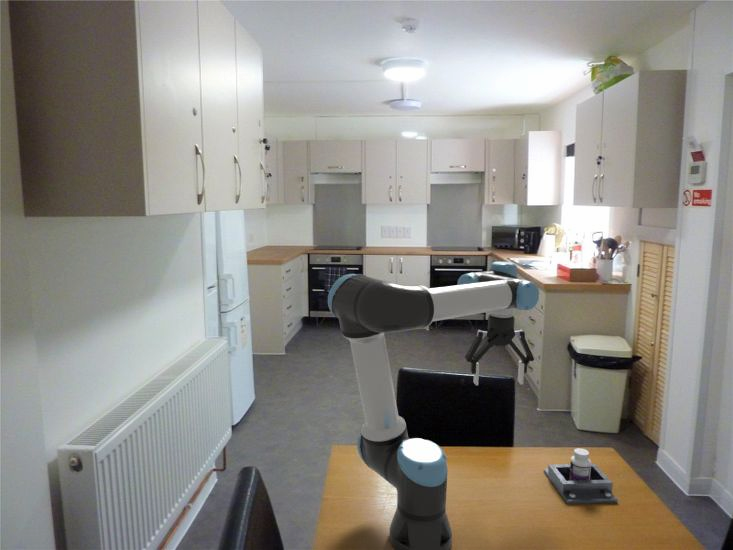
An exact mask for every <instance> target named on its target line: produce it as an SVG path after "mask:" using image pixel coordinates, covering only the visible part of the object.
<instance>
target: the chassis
mask: <svg viewBox="0 0 733 550" xmlns="http://www.w3.org/2000/svg"><path fill="white" fill-rule="evenodd" d="M543 473H544V474H545V476H546V477H547V478H548V479H549V481H550V482H551V484H552V486H554V489H556V490H557V493H559V495H560V497H562V499H563V500H564V501H565V502H566V504H567V505H573V504H574V505H576V504H577V505H578V504H580V505H581V504H608V503H611V504H612V503H613V504H614V503H618V501H619V499H618V497H617V496H615V494H614V493H613V485H614V483H613V481H612V480H611V479H610V478H609V477H608V476H607V475H606V474H605V473H604V471H603V470H601V469H600V467H599V466H598V465H597V464H596V463H591V472H590V480H579V481H570V463H564V464H563V463H562V464H559V463H558V464H557V463H556V464H548V468H543Z"/></svg>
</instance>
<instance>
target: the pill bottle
mask: <svg viewBox="0 0 733 550" xmlns="http://www.w3.org/2000/svg"><path fill="white" fill-rule="evenodd" d="M569 464H570V481H579V480H590V472H591V464H592V460H591V459H590V452H589V451H588V450H587V449H586V448H582V447H581V448H579V447H577V448H575V449H573V455H572V456H571V457H570V463H569Z"/></svg>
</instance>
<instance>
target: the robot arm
mask: <svg viewBox="0 0 733 550" xmlns="http://www.w3.org/2000/svg"><path fill="white" fill-rule="evenodd" d="M517 270H518V269H517V264H516V263H514V262H509V261H494V262H492V263H490V267H489V270H487V271H486V270H485V271H477V272H476V271H475V272H473V271H471V272H469V273H464V274H462V275H461V276H459V278H458V279H457V284H456V285H449V286H448V285H447V286H439V287H430V288H428V287H426V286H424V285H421V284H418V285H404V284H399V283H396V282H395V283H394V282H390V281H386V280H382V279H378V278H373V277H370V276H367V275H364V274H362V273H357V274H356V273H349V274H345V275H342V276H341V277H339V278H338V279H336V280H335V282H334V283H333V285H332V287H331V288H330V289H329V292H328V295H327V306H328V308H329V311H330V312H331V314H332V315H333V316H334V317H335V318H337V319H338V321H339V326H340V332H341V335H342V337H344V338H345V339H346V340H348V341H349V343H350V345H349V346H350V349H351V355H352V359H353V364H354V370H355V374H356V380H357V385H358V391H359V395H360V401H361V405H362V410H363V415H364V421H365V422H364V423H363V424H362V426H361V431H360V433H359V434H360V436H359V437H358V438H357V451H358V454H359V457H360V459H361V460H362V462H364V464H365V465H366V466H367V467H368V468H369V469H371V470H372V471H374V472H375V473H376V474H378V476H380V477H381V478H383V479H384V480H385V481H386V482H388V484H390V485H391V486H392V487H394V488H395V489H396V494H397V495H396V504H397V505H396V509H395V511H394V514H393V518H392V520H391V523H390V525H389V542H390V544H391V546H392V547H393V549H394V550H451V548H452V544H453V532H452V531H453V530H452V528H451V524H450V521H449V518H448V515H447V509H446V506H447V505H446V504H447V488H448V487H447V485H448V474H449V473H448V472H449V470H448V463H447V462H448V461H447V460H448V459H447V455H446V452H445V451H444V450H443V448H442V447H441V446H440V445H439V444H437V443H435V442H433V441H432V440H429V439H423V438H421V437H420V438H419V437H412V438H410V437H409V435H408V429H407V428H408V427H407V423H406V421H405V418H404V417H402V416H400V415H399V411H398V407H397V401H396V395H395V394H396V393H395V388H394V383H393V382H394V381H393V377H392V372H391V366H390V361H389V354H388V348H387V343H386V337H385V334H388V333H400V332H407V331H412V330H417V329H424V328H427V327H429V326H430V325H431V324H432V323H433V322H437V321H443V320H448V319H456V318H461V317H467V316H474V315H479V314H483V313H484V314H485V313H489V314H488V316H487V330H486V331H484V330H481V329H477V330H476V334H475V338H474V339H473V342H472V343H471V345H470V347H469V349H468V351H467V353H466V354H465V356H464V358H465V360H466V362H467V363H470V372H471V374H473V383H474V385H475V386H479V377H480V376H479V375H480V364H479V361H480V360H481V359H482V358H483V357H484V355H485V354H486V353H487V352H488V351H489V350H490V349H491V348H492V347H494V346H495V347H500V346H502V347H507V346H508V345H509V346H510V348H511V349H512V350H513V351H514V352H515V354H516V355H517V356H518V357H519V358H520V360H518V369H517V382H518V383H519V385H524V376H525V374H527V372H528V365H529V364H530V362H534V361H535V357H534V355H533V353H532V351H531V348H530V347H529V346H530V345H529V344H528V342H527V339H526V333H525V331H524V330H522V329H521V328H519V329H518V330H515V320H516V319H515V318H516V317H515V314H516V309H517V310H519V311H531V310H533V309H534V308H535V307H536V306H537V304H538V302H539V298H540V297H539V295H540V290H539V286H538V285H537V284H536V283H535V282H533V281H530V280H526V279H521V278H518V274H517V273H518V271H517ZM485 337H487V339H486V340H485V341H484V343H483V345H482V346H481V347H480V348H479V346H480V345H481V343H482V341H483V339H484V338H485ZM515 337H516V338H518V340H519V342H520V344H521V346H522V349H523V350H524V353H525V355H524V353H522V351H521V350H520V348H518V346H517V344H515V342H514V341H513V339H514V338H515ZM478 348H479V349H478Z"/></svg>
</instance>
